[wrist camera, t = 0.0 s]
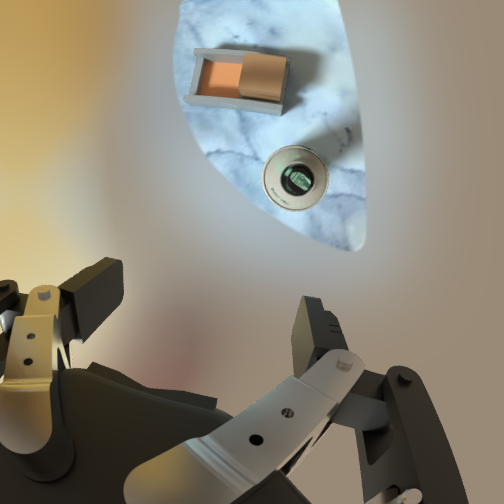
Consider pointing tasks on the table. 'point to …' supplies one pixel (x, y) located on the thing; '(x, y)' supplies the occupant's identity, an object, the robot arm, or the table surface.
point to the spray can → (295, 178)
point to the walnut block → (262, 77)
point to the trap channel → (227, 82)
